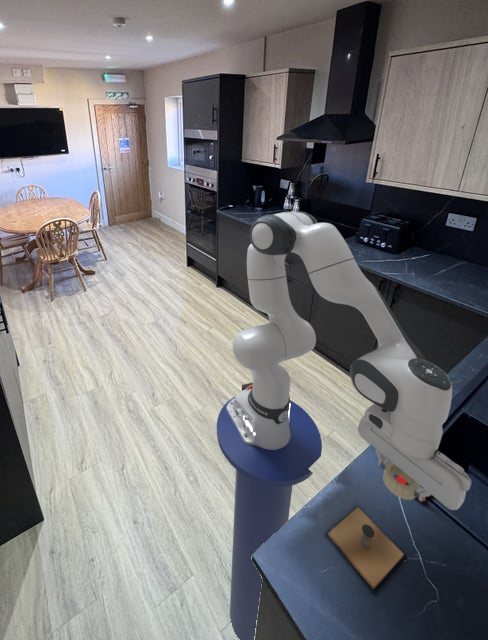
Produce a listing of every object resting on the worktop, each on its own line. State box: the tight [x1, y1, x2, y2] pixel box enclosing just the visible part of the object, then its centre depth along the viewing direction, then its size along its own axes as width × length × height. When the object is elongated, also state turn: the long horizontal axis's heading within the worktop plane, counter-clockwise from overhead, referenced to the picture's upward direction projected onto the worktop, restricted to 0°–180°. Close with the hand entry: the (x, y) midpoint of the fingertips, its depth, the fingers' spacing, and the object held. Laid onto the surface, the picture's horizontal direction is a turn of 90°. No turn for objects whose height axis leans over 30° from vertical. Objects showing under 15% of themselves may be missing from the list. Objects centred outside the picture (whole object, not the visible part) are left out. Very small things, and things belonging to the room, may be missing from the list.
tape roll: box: [382, 460, 420, 501], centre depth 71 cm, size 6×6×3 cm
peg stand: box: [327, 506, 404, 590], centre depth 72 cm, size 11×11×5 cm
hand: (400, 480), depth 71 cm, fingers closed on tape roll, 6 cm apart
